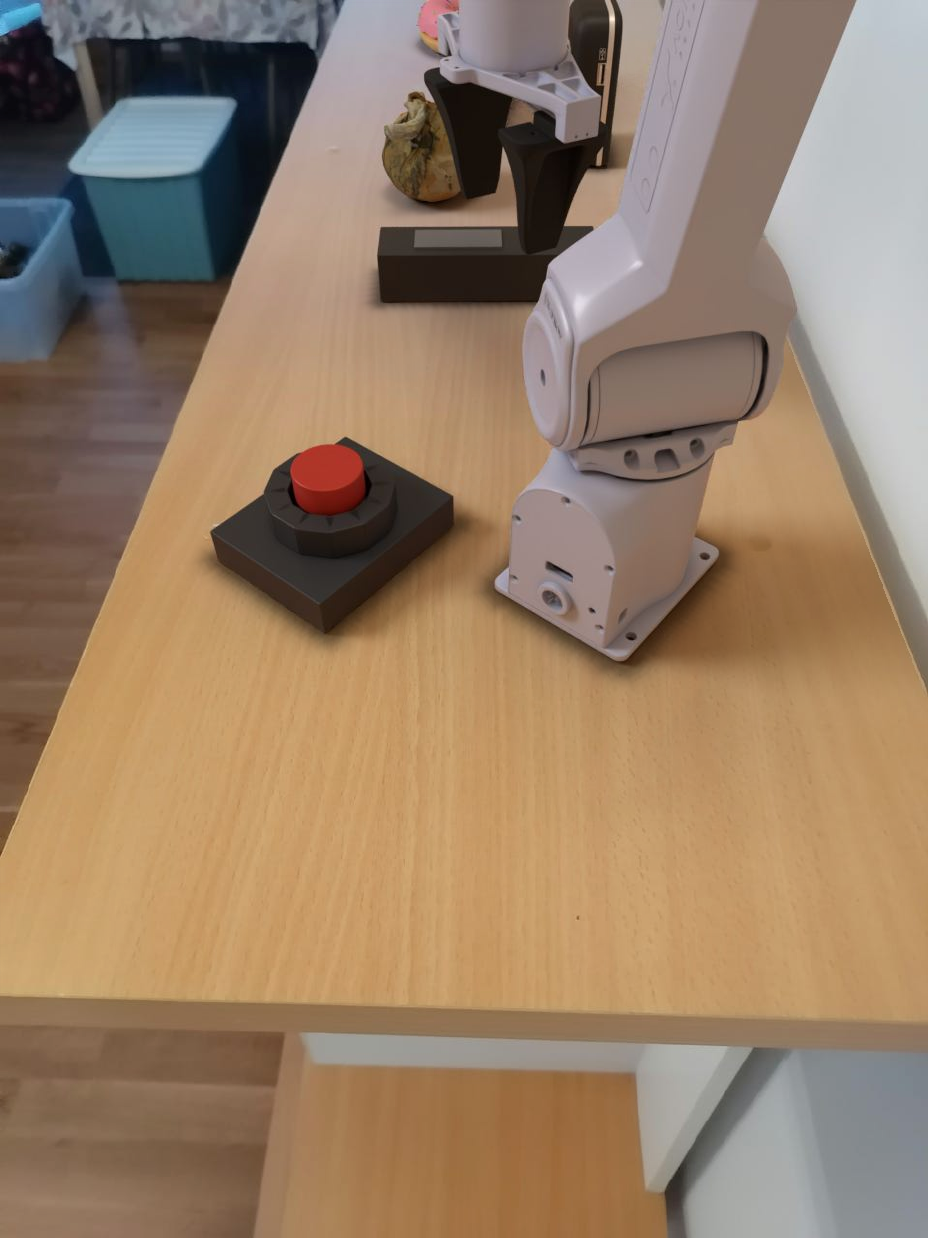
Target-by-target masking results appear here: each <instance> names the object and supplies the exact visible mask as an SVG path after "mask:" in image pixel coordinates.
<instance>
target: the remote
mask: <svg viewBox="0 0 928 1238" xmlns="http://www.w3.org/2000/svg"><path fill="white" fill-rule="evenodd" d="M594 229H595V228H594V225H564V227H563V230H562V233H561V236H560V239H559V242H558V245H557V247H556V248H553V249H549V250H545V251H542V252H538V253H534V254H530V255H528V254H526V253H525V252H524V251H523V250H522V249H521V245H520V241H519V235H518V225H507V226H506V225H502V226H501V225H500V226H499V225H497V226H496V225H495V226H493V225H491V226H488V225H486V226H485V225H484V226H482V225H481V226H478V225H477V226H476V225H475V226H471V225H470V226H469V225H468V226H381V227H379V234H378V235H379V236H378V245H377V252H376V259H377V260H376V261H377V272H378V284H379V285H378V286H379V299H380V302H538V301H539V298H540V295H541V291H542V287H543V283H544V282H545V280H546V276H547V269H548V265H549V264H550V263H551V261H552V260H553V259H555V258H556V257H557V256H559V255H560V254H561V253H563V252H564V251H565V250H566V249H568V248H569V247H570V246H572V245H573V244H574V243H576V242H577V241H579V240H580V239H582V238H583V237H584V236H586V235H587V234H589V233H590V232H591V231H593V230H594Z"/></svg>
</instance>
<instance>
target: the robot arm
mask: <svg viewBox="0 0 928 1238" xmlns="http://www.w3.org/2000/svg"><path fill="white" fill-rule="evenodd" d="M856 3H857V0H665V2H664V6H663V9H662V15H661V19H660V23H659V28H658V31H657V36H656V40H655V45H654V48H653V53H652V57H651V62H650V66H649V70H648V75H647V80H646V83H645V87H644V88H645V89H644V93H643V97H642V101H641V105H640V109H639V114H638V119H637V122H636V127H635V130H634V136H633V139H632V145H631V150H630V152H629V153H630V154H629V157H628V162H627V166H626V170H625V174H624V179H623V183H622V187H621V192H620V195H619V201H618V205H617V209H616V212H614V214H612V216H610V217H609V218H608V219H606V220H605V221H604V222H602V223H601V224H600V225H598V226H597V227H596V228H594V230H593V231H591V232H590V233H589V234H587V235H586V236H584V237H583V238H582V239H580V240H579V241H577V242H576V243H574V244H573V245H572V246H570V247H569V248H568V249H566V250H565V251H564V252H563V253H561V254H560V255H559V256H557V257H556V258H555V259H553V260H552V261H551V263H550V264H549V265H548V269H547V276H546V280H545V282H544V283H543V287H542V291H541V295H540V298H539V301H537V303H536V304H535V305H534V306H533V307H534V308H533V309H532V312H531V313H530V315H529V316H528V318H527V320H526V322H525V325H524V329H523V335H522V349H521V350H522V351H521V353H522V354H521V355H522V357H521V358H522V371H523V380H524V387H525V394H526V398H527V402H528V407H529V411H530V414H531V417H532V420H533V422H534V425H535V428H536V429H537V431H538V433H539V434H540V436H541V437H542V438H543V439H544V440H546V441H547V442H548V443H549V444H550V445H551V446H552V447H551V450H550V452H549V454H548V456H547V460H546V462H545V463H544V464H543V465H542V467H541V469H540V470H539V472H538V473H537V474H536V476H535V477H534V478H533V479H532V480H531V481H530V483H529V484H528V485H527V486H526V487H525V488H524V489H522V491H520V493H519V494H518V496H517V497H516V498H515V500H514V503H513V505H512V508H511V513H510V514H511V515H510V535H509V536H510V537H509V556H508V557H509V559H508V560H509V562H508V566H507V567H506V568H505V569H504V570H503V571H502V572H500V574H499V575H497V577H496V578H495V579H494V588H495V590H496V591H497V592H499V593H500V594H501V595H503V596H505V597H507V598H508V599H510V600H512V601H513V602H515V603H517V604H518V605H520V606H522V607H523V608H526V609H527V610H529V611H530V612H532V613H534V614H535V615H537V616H538V617H540V618H542V619H544V620H546V622H549V623H551V624H553V625H554V626H555V627H558V628H559V629H561V630H563V631H564V632H566V633H568V634H569V635H571V636H572V637H574V638H576V639H578V640H579V641H581V642H582V643H585V644H586V645H588V646H590V647H591V648H593V649H595V650H596V651H598V652H599V653H601V654H602V655H605V656H606V657H608V658H610V659H611V660H613V661H616V662H623V661H626V660H628V659H629V658H630V656H631V655H632V654H633V653H634V652H635V651H636V650H637V649H638V648H639V647H640V646H641V644H642V643H644V642H645V640H646V639H647V638H648V636H649V635H650V634H651V633H652V632H653V631H654V630H655V629H656V628H657V627H658V626H659V624H660V623H661V622H662V621H663V620H664V619H665V618H666V617H667V616H668V614H669V613H670V612H671V611H672V610H673V609H674V608H675V607H676V606H677V605H678V604H679V603H680V601H681V600H682V599H683V598H684V597H685V596H686V595H687V594H688V593H689V591H690V590H691V589H692V588H693V587H694V586H695V585H696V584H697V582H699V580H700V579H701V578H702V577H703V576H704V575H705V574H706V572H708V570H709V569H710V568H711V567H712V566H713V565H714V564H715V563H716V561H717V560H718V559H719V555H720V551H719V548H717V547H716V546H715V545H712V544H711V543H709V542H706V541H705V540H702V539H701V538H699V537H696V532H697V529H698V524H699V519H700V516H701V511H702V508H703V503H704V500H705V495H706V492H707V487H708V483H709V479H710V476H711V471H712V467H713V463H714V459H715V455H716V452H717V451H718V450H720V449H721V448H725V447H727V446H731V445H733V444H734V439H735V436H736V433H737V428H738V425H739V422H745V421H753V420H754V419H757V418H759V417H760V416H761V415H762V414H763V413H764V412H765V411H766V410H767V408H769V407H768V406H769V405H770V403H771V401H772V400H773V397H774V395H775V392H776V391H777V389H778V386H779V384H780V381H781V377H782V373H783V368H784V367H783V366H784V358H785V345H786V341H787V336H788V332H789V330H790V327H791V325H792V323H793V322H794V319H795V318H796V315H797V313H798V305H797V302H796V298H795V294H794V290H793V287H792V282H791V280H790V278H789V275H788V273H787V270H786V268H785V267H784V264H783V262H782V260H781V258H780V257H779V255H778V254H777V252H776V251H775V249H774V247H772V245H770V243H769V242H768V241H767V240H766V239H765V238H764V237H763V235H764V231H765V229H766V227H767V224H768V221H769V220H770V217H771V214H772V212H773V210H774V206H775V205H776V202H777V200H778V196H779V194H780V192H781V189H782V187H783V184H784V183H785V180H786V177H787V174H788V172H789V169H790V167H791V165H792V162H793V160H794V157H795V154H796V153H797V149H798V148H799V145H800V142H801V139H802V138H803V135H804V132H805V130H806V128H807V126H808V125H807V124H808V122H809V120H810V118H811V115H812V112H813V109H814V107H815V105H816V102H817V101H818V97H819V95H820V93H821V90H822V88H823V85H824V83H825V80H826V77H827V76H828V73H829V71H830V67H831V65H832V62H833V60H834V58H835V56H836V53H837V50H838V48H839V46H840V43H841V41H842V38H843V35H844V34H845V33H844V32H845V30H846V27H847V25H848V23H849V20H850V18H851V15H852V14H853V13H852V12H853V11H854V9H855V8H854V7H855V5H856ZM570 5H571V0H459V11H455V12H450V13H444V14H439V15H437V23H438V51H439V52H440V53H442V54H441V55H443V56H445V57H442V58H441V59H440V60H439V66H437V67H433V68H430V69H427V70H426V71H425V72H424V73H423V82H424V85H425V87H426V89H427V91H428V92H429V94H430V95H431V97H432V99H433V102H435V104H436V106H437V108H438V111H439V113H440V116H441V118H442V121H443V124H444V127H445V130H446V133H447V136H448V140H449V144H450V147H451V151H452V156H453V160H454V164H455V169H456V173H457V178H458V182H459V186H460V189H461V191H460V192H461V195H462V197H463V198H464V199H465V200H466V201H468V200H473V199H478V198H481V197H485V196H489V195H494V194H496V193H497V189H498V185H499V181H500V176H501V168H502V158H503V151H504V153H505V155H506V159H507V163H508V165H509V168H510V173H511V177H512V182H513V186H514V193H515V205H516V225H517V226H518V235H519V241H520V245H521V249H522V250H523V251H524V252H525V253H526V254H528V255H530V254H534V253H538V252H542V251H545V250H549V249H553V248H556V247H557V245H558V242H559V239H560V236H561V233H562V230H563V227H564V226H565V224H566V221H567V217H568V215H569V212H570V209H571V207H572V203H573V201H574V199H575V196H576V193H577V191H578V188H579V186H580V185H581V182H582V181H583V179H584V177H585V175H586V174H587V171H588V170H589V168H590V167H591V166H592V165H591V163H592V161H593V160H594V158H595V157H596V155H597V154H598V153H599V151H600V150H601V149H602V147H603V146H604V145H605V143H606V142H607V135H608V127H607V125H606V124H605V123H603V122H602V121H600V120H599V115H600V105H601V96H600V95H599V94H597V93H596V92H595V91H593V90H592V89H591V88H590V87H589V85H588V84H587V82H586V81H585V79H584V77H583V75H582V73H581V71H580V69H579V67H578V65H577V64H576V62H575V60H574V58H573V56H572V54H571V52H570V50H569V49H568V48H567V40H568V25H569V10H570ZM440 53H439V54H440ZM513 99H517V100H518V101H519V102H521V103H522V104H523V105H525V106H526V107H528V108H529V109H530V110H532V111H533V118H532V119H533V121H532V122H531V121H528V122H523V123H519V124H514V125H510V126H507V122H508V117H509V113H510V109H511V105H512V103H513ZM628 638H631V639H633V640H631V639H628Z"/></svg>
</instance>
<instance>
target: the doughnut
mask: <svg viewBox="0 0 928 1238" xmlns="http://www.w3.org/2000/svg"><path fill="white" fill-rule="evenodd" d="M420 8H421V9H420V11H419V13H417V15H418V17H417V24H416V26H417V27H418V29H419V34H420V38H421V40H422V41H423V43H424V44H425V45H426V46H427V47H428V48H429V49H430V50H432V51H434V52H436V53H438V54H440V55H443V54H442V53H440V52H439V51H438V23H437V15H439V14H444V13H450V12H455V11H459V0H426V1H425V2H424V4H422V6H421V7H420Z"/></svg>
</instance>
